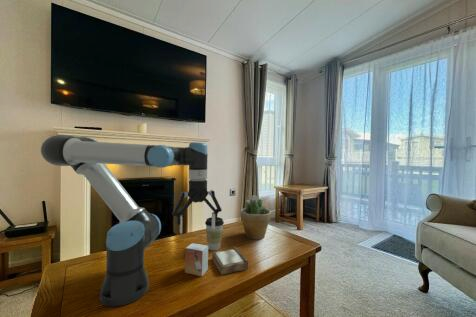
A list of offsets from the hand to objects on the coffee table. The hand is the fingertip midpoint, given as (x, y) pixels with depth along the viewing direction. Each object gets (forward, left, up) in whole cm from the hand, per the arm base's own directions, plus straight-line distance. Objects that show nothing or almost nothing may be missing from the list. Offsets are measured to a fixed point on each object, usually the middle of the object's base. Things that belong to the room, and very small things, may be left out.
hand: (197, 230), depth 87 cm
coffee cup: (+13, +19, -18) cm, 29 cm away
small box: (0, 0, -18) cm, 18 cm away
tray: (+15, +1, -17) cm, 23 cm away
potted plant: (+41, +26, -18) cm, 52 cm away
